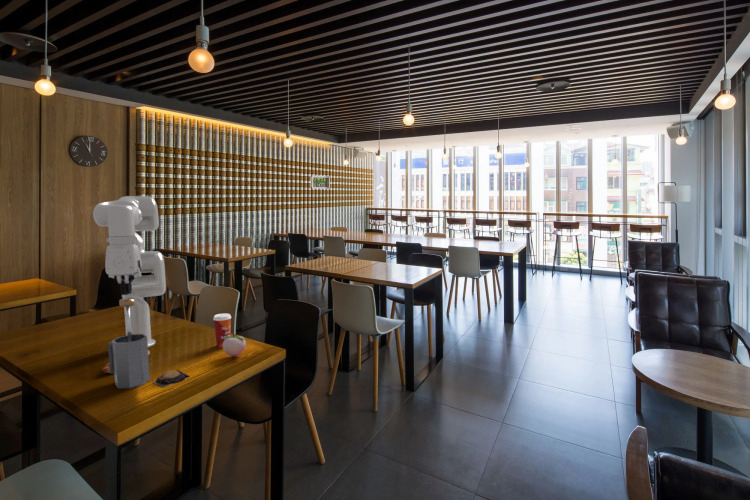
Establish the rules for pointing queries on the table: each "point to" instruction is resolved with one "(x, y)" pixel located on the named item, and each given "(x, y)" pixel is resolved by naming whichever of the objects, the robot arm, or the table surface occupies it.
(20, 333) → the table surface
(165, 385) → the abalone
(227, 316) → the paper cup
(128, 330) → the plunger
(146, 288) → the robot arm
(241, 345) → the decorative fruit
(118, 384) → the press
